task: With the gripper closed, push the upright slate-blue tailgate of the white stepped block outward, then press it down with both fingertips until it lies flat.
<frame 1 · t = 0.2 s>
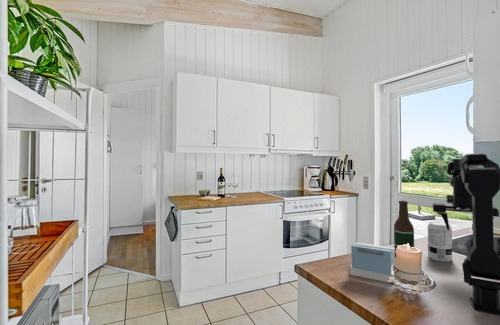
hand: (463, 231, 95), 15 cm above the counter, tool pointing down, fingers open, 9 cm apart
white stepped block: (373, 271, 95), on the counter
tailgate: (370, 259, 88), point 7 cm above the counter, hinge at 0.0°
supplement can: (439, 259, 106), on the counter
beer bottle: (404, 255, 112), on the counter
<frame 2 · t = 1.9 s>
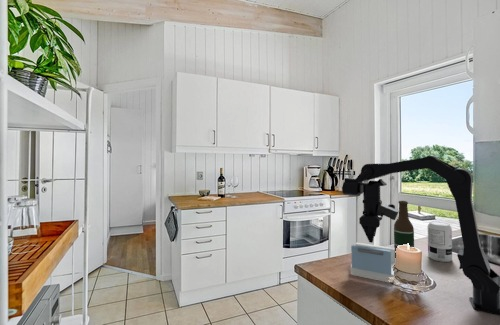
hand: (372, 239, 93), 13 cm above the counter, tool pointing down, fingers open, 8 cm apart
nothing on the counter moved.
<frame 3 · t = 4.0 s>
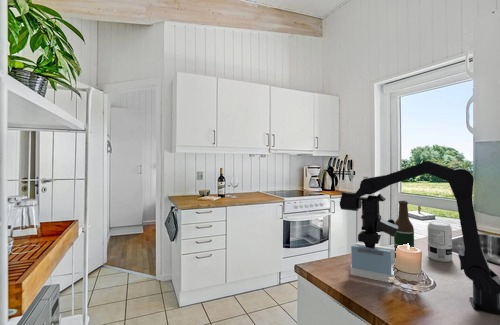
hand: (371, 255, 91), 8 cm above the counter, tool pointing down, fingers closed
tailgate: (370, 260, 88), point 7 cm above the counter, hinge at 1.1°, touching gripper
everything else where it was.
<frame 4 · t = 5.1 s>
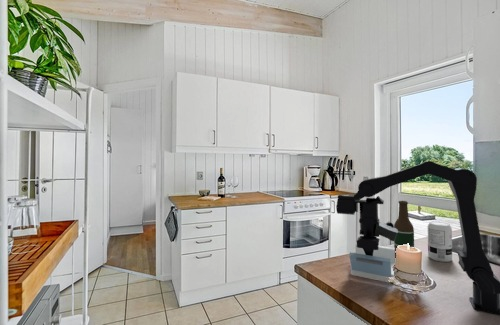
hand: (370, 260, 87), 8 cm above the counter, tool pointing down, fingers closed, pressing on tailgate
tailgate: (369, 265, 87), point 6 cm above the counter, hinge at 31.7°, touching gripper
everything else where it was.
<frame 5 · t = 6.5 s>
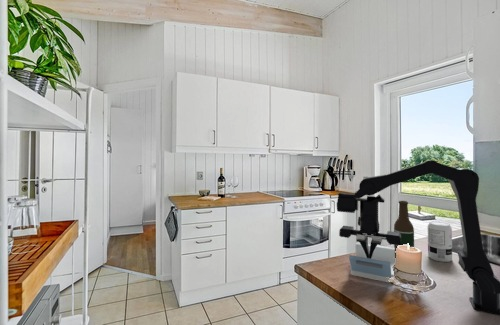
hand: (369, 259, 86), 8 cm above the counter, tool pointing down, fingers closed, pressing on tailgate
tailgate: (369, 267, 86), point 5 cm above the counter, hinge at 39.6°, touching gripper
everything else where it was.
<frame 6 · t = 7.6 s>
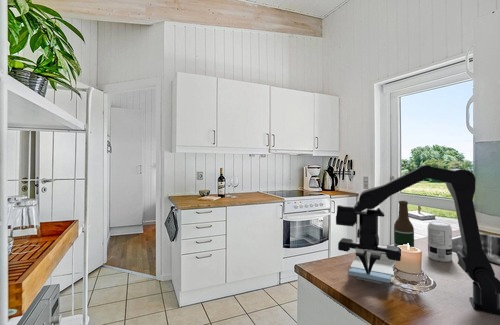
hand: (368, 273, 85), 4 cm above the counter, tool pointing down, fingers closed, pressing on tailgate
tailgate: (369, 276, 86), point 3 cm above the counter, hinge at 76.4°, touching gripper
everything else where it was.
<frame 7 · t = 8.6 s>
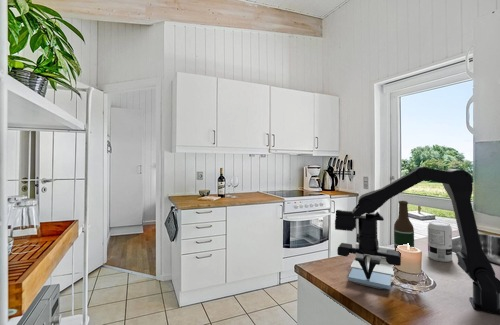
hand: (368, 278, 83), 3 cm above the counter, tool pointing down, fingers closed
tailgate: (369, 279, 86), point 2 cm above the counter, hinge at 90.3°
everything else where it was.
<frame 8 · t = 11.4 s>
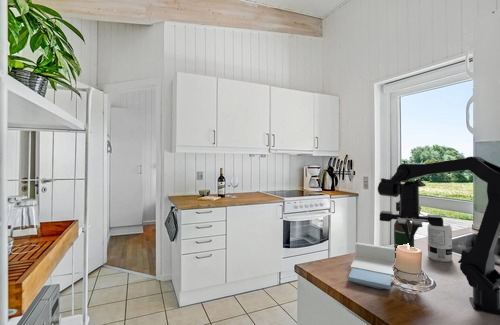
hand: (409, 242, 89), 13 cm above the counter, tool pointing down, fingers closed
nothing on the counter moved.
at the end: tailgate at +90° (first picture: +0°) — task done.
